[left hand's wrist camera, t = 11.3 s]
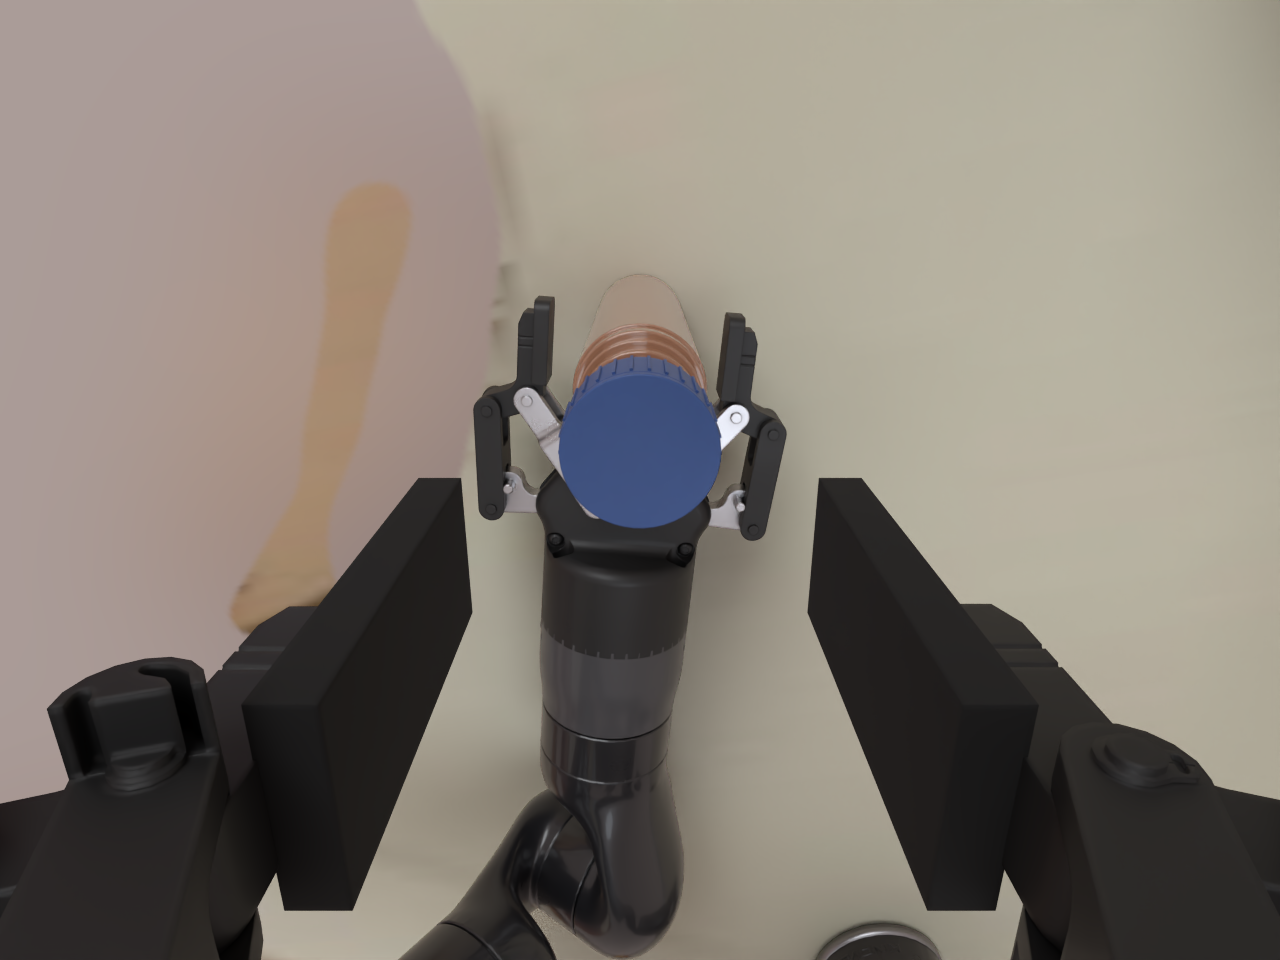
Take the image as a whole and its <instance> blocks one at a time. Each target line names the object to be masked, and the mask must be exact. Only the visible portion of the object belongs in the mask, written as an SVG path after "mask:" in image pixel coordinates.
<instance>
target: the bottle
mask: <svg viewBox="0 0 1280 960" xmlns="http://www.w3.org/2000/svg"><path fill="white" fill-rule="evenodd" d="M631 355H633V357H647V355H649V356H650V358H656V359H660V360H664V359H666V360H667V362H669V363H671V364H673V365H675V366H677V367H679V366H681V367H682V369H683V370H684V371H685V372H686V373H687V374H689V375H690V376H691V377H692V376H694V377H695V379H696V382H697V383H698V385H699V386H700V387H701V389H703V388H704V389H705V391H706V394H707V380H706V375H705V371H704V368H703V365H702V363H701V360H700V357H699V354H698V352H697V349H696V346H695V344H694V341H693V338H692V335H691V333H690V330H689V327H688V324H687V322H686V319H685V316H684V314H683V311H682V308H681V305H680V303H679V300H678V298H677V296H676V294H675V293H674V291H673V290H672V289H671V288H670V287H669V286H668V285H667V284H666V283H665V282H663V281H661V280H660V279H658V278H655V277H652V276H649V275H631V276H627V277H625V278H622V279H620V280H619V281H617V282H616V283H614V284H613V285H612V286H611V287H610V288H609V289H608V290H607V291H606V293H605V294H604V296H603V298H602V300H601V303H600V305H599V308H598V311H597V313H596V316H595V319H594V321H593V324H592V327H591V330H590V332H589V335H588V338H587V340H586V343H585V346H584V349H583V351H582V354H581V357H580V359H579V362H578V365H577V368H576V371H575V375H574V381H573V395H574V392H575V389H576V388H579V387H580V386H581V385H582V383H583V382H584V380H585V377H586V376H587V375H588V376H590V375H591V374H592V373H594V372H595V371H597V370H598V367H599V366H602V367H603V366H605V365H607V364H609V363H611V362H613V361H614V359H617V360H620V359H624V358H630V356H631Z"/></svg>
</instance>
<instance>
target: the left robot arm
mask: <svg viewBox="0 0 1280 960" xmlns="http://www.w3.org/2000/svg"><path fill="white" fill-rule="evenodd" d="M471 615H472V602H471V590H470V578H469V566H468V555H467V543H466V531H465V519H464V507H463V496H462V484H461V478H418V480H417V481H416V482H415V483H414V485H413V486H412V487H411V488H410V490H409V491H408V492H407V494H406V495H405V496H404V497H403V499H402V500H401V501H400V502H399V504H398V505H397V506H396V508H395V509H394V510H393V511H392V513H391V514H390V515H389V517H388V518H387V519H386V520H385V522H384V523H383V524H382V525H381V527H380V528H379V529H378V531H377V532H376V533H375V534H374V536H373V537H372V538H371V539H370V541H369V542H368V543H367V545H366V546H365V547H364V548H363V550H362V551H361V552H360V554H359V555H358V556H357V557H356V559H355V560H354V561H353V563H352V564H351V565H350V566H349V568H348V569H347V570H346V571H345V573H344V574H343V575H342V576H341V578H340V579H339V580H338V582H337V583H336V584H335V585H334V587H333V588H332V589H331V591H330V592H329V593H328V594H327V596H326V597H325V598H324V599H323V601H322V602H321V603H320V605H319V606H318V607H288V608H286V609H284V610H283V611H281V612H279V613H278V614H276V615H274V616H273V617H271V618H269V619H268V620H266V621H264V622H263V623H261V624H260V625H258V626H257V627H256V628H255V630H254V631H253V632H252V633H251V634H250V635H249V636H248V637H247V639H246V640H245V641H244V642H243V643H242V644H241V645H240V647H239V651H238V652H234V653H233V654H232V655H231V657H230V658H229V659H228V660H227V661H226V662H225V663H224V664H223V669H222V670H218V671H217V672H216V673H215V675H214V676H213V677H212V678H211V679H210V680H209V681H208V682H207V683H206V679H205V674H204V670H203V669H202V668H201V667H200V666H198V665H197V664H196V663H194V662H193V661H191V660H185V659H180V658H174V657H163V658H148V659H142V660H137V661H133V662H129V663H125V664H121V665H117V666H114V667H111V668H109V669H106V670H104V671H101V672H99V673H96V674H94V675H91V676H89V677H87V678H85V679H83V680H82V681H80V682H78V683H77V684H75V685H74V686H72V687H70V688H69V689H67V690H66V691H64V692H62V693H61V694H60V696H59V697H58V698H57V699H56V700H55V701H54V702H53V703H52V704H51V705H50V706H49V707H48V708H47V711H48V714H49V718H50V721H51V724H52V727H53V730H54V733H55V737H56V740H57V743H58V746H59V749H60V752H61V755H62V759H63V762H64V765H65V768H66V772H67V775H68V778H69V781H68V783H67V785H66V788H65V789H64V790H62V791H58V792H54V793H49V794H45V795H40V796H35V797H30V798H25V799H21V800H16V801H11V802H6V803H2V804H0V960H261V954H262V947H263V934H262V927H261V921H260V916H259V912H258V908H257V907H258V905H259V903H260V901H261V900H262V898H263V896H264V894H265V892H266V890H267V888H268V887H269V885H270V883H271V881H272V879H273V877H274V875H275V874H276V873H277V878H278V883H279V887H280V892H281V897H282V901H283V906H284V911H353V908H354V906H355V903H356V901H357V898H358V896H359V893H360V891H361V888H362V886H363V883H364V881H365V878H366V876H367V873H368V871H369V868H370V866H371V864H372V861H373V859H374V856H375V854H376V851H377V849H378V846H379V844H380V841H381V839H382V836H383V834H384V831H385V829H386V826H387V824H388V821H389V819H390V816H391V814H392V811H393V809H394V806H395V804H396V801H397V799H398V796H399V794H400V791H401V789H402V786H403V784H404V781H405V779H406V776H407V774H408V771H409V769H410V766H411V764H412V761H413V759H414V757H415V754H416V752H417V749H418V747H419V744H420V742H421V739H422V737H423V734H424V732H425V729H426V727H427V724H428V722H429V719H430V717H431V714H432V712H433V709H434V707H435V704H436V702H437V699H438V697H439V694H440V692H441V689H442V687H443V684H444V682H445V679H446V677H447V674H448V672H449V669H450V667H451V664H452V662H453V659H454V657H455V655H456V652H457V650H458V647H459V645H460V642H461V640H462V637H463V635H464V632H465V630H466V627H467V625H468V622H469V620H470V617H471ZM808 615H809V617H810V620H811V622H812V625H813V627H814V630H815V632H816V635H817V637H818V640H819V642H820V645H821V647H822V650H823V652H824V655H825V657H826V659H827V662H828V664H829V667H830V669H831V672H832V674H833V677H834V679H835V682H836V684H837V687H838V689H839V692H840V694H841V697H842V699H843V702H844V704H845V707H846V709H847V712H848V714H849V717H850V719H851V722H852V724H853V727H854V729H855V732H856V734H857V737H858V739H859V742H860V744H861V747H862V749H863V752H864V754H865V757H866V759H867V761H868V764H869V766H870V769H871V771H872V774H873V776H874V779H875V781H876V784H877V786H878V789H879V791H880V794H881V796H882V799H883V801H884V804H885V806H886V809H887V811H888V814H889V816H890V819H891V821H892V824H893V826H894V829H895V831H896V834H897V836H898V839H899V841H900V844H901V846H902V849H903V851H904V854H905V856H906V859H907V861H908V864H909V866H910V868H911V871H912V873H913V876H914V878H915V881H916V883H917V886H918V888H919V891H920V893H921V896H922V898H923V901H924V903H925V906H926V908H927V911H996V906H997V901H998V897H999V892H1000V887H1001V883H1002V878H1003V873H1004V870H1005V871H1006V873H1007V875H1008V877H1009V879H1010V881H1011V882H1012V884H1013V886H1014V888H1015V890H1016V892H1017V894H1018V895H1019V897H1020V899H1021V901H1022V903H1023V908H1022V912H1021V916H1020V921H1019V925H1018V930H1017V934H1016V939H1015V943H1014V947H1013V952H1012V956H1011V960H1280V800H1277V799H1272V798H1267V797H1262V796H1258V795H1253V794H1248V793H1243V792H1238V791H1234V790H1229V789H1225V788H1221V787H1217V786H1214V784H1213V782H1212V780H1211V778H1210V777H1209V776H1208V775H1207V773H1206V772H1205V771H1204V770H1203V768H1202V767H1201V766H1200V765H1199V763H1198V762H1197V761H1196V760H1195V759H1193V758H1192V757H1190V756H1189V755H1188V754H1186V753H1185V752H1184V751H1182V750H1181V749H1179V748H1178V747H1177V746H1175V745H1174V744H1172V743H1170V742H1167V741H1165V740H1163V739H1161V738H1159V737H1157V736H1155V735H1152V734H1150V733H1148V732H1146V731H1142V730H1138V729H1135V728H1131V727H1128V726H1124V725H1120V724H1112V722H1111V721H1110V720H1109V719H1108V718H1107V717H1106V716H1105V715H1104V713H1103V712H1102V711H1101V710H1100V709H1099V708H1098V707H1097V706H1096V705H1095V703H1094V702H1093V701H1092V700H1091V699H1090V698H1089V697H1088V696H1087V694H1086V693H1085V692H1084V691H1083V690H1082V689H1081V688H1080V687H1079V686H1078V684H1077V683H1076V682H1075V681H1074V680H1073V679H1072V678H1071V677H1070V675H1069V674H1068V673H1067V672H1066V671H1065V670H1064V669H1063V668H1062V667H1058V662H1057V661H1056V660H1055V659H1054V658H1053V656H1052V655H1051V654H1050V653H1049V652H1048V651H1047V650H1046V649H1042V644H1041V643H1040V642H1039V641H1038V640H1037V639H1036V637H1035V636H1034V635H1033V634H1032V633H1031V632H1030V631H1029V630H1028V629H1027V627H1026V626H1025V625H1024V624H1023V623H1022V622H1020V621H1019V620H1017V619H1015V618H1014V617H1012V616H1010V615H1009V614H1007V613H1005V612H1004V611H1002V610H1000V609H999V608H997V607H995V606H994V605H992V604H960V603H959V602H958V601H957V599H956V598H955V597H954V596H953V594H952V593H951V592H950V591H949V589H948V588H947V587H946V585H945V584H944V583H943V582H942V580H941V579H940V578H939V576H938V575H937V574H936V573H935V571H934V570H933V569H932V568H931V566H930V565H929V564H928V562H927V561H926V560H925V559H924V557H923V556H922V555H921V554H920V552H919V551H918V550H917V548H916V547H915V546H914V545H913V543H912V542H911V541H910V539H909V538H908V537H907V536H906V534H905V533H904V532H903V531H902V529H901V528H900V527H899V525H898V524H897V523H896V522H895V520H894V519H893V518H892V516H891V515H890V514H889V513H888V511H887V510H886V509H885V508H884V506H883V505H882V504H881V502H880V501H879V500H878V499H877V497H876V496H875V495H874V494H873V492H872V491H871V490H870V488H869V487H868V486H867V485H866V483H865V482H864V481H863V479H862V478H819V484H818V496H817V507H816V519H815V531H814V543H813V555H812V566H811V578H810V590H809V602H808Z"/></svg>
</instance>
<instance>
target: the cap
mask: <svg viewBox="0 0 1280 960" xmlns="http://www.w3.org/2000/svg"><path fill="white" fill-rule="evenodd" d="M562 421H563V423H562V426H561V429H560V432H559V436H558V437H559V438H560V441H559V450H558V454H559V461H560V468H561V471H562V474H563V477H564V480H565V482H566V484H567V486H568V488H569V489H570V491H571V493H572V494H573V496H574V497H575V498H576V499H577V500H578V502H579V503H580V504H581V505H582V506H583V507H584V508H586V509H587V510H588V511H589V512H591V513H592V514H593V515H595V516H597V517H598V518H600V519H602V520H604V521H606V522H609V523H611V524H614V525H618V526H622V527H628V528H653V527H658V526H662V525H665V524H668V523H671V522H674V521H676V520H678V519H680V518H682V517H683V516H685V515H686V514H688V513H689V512H691V511H692V510H693V509H694V508H695V507H697V506H698V505H699V504H700V503H701V502H702V500H703V499H704V498H705V497H706V495H707V494H708V493H709V491H710V490H711V488H712V486H713V484H714V482H715V480H716V477H717V474H718V471H719V467H720V462H721V455H722V451H721V440H720V438H722V436H721V433H720V430H719V427H718V424H717V421H718V420H717V417H716V414H715V411H714V408H713V406H712V403H709V400H708V397H707V394H706V391H705V389H704V388H703V389H701V387H700V386H699V385H698V383H697V382H696V379H695V377H694V376H692V377H691V376H690V375H689V374H687V373H686V372H685V371H684V370H683V369H682V367H681V366H679V367H677V366H675V365H673V364H671V363H669V362H667V360H666V359H664V360H660V359H656V358H650V356H649V355H647V357H633V355H631V356H630V358H624V359H620V360H617V359H614V361H613V362H611V363H609V364H607V365H605V366H603V367H602V366H599V367H598V370H597V371H595V372H594V373H592V374H591V375H590V376H588V375H587V376H586V377H585V380H584V382H583V383H582V385H581V386H580V387H579V388H576V389H575V392H574V395H573V398H572V401H571V402H569V403H568V405H567V408H566V411H565V414H564V417H563V420H562Z"/></svg>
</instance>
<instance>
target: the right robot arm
mask: <svg viewBox="0 0 1280 960" xmlns="http://www.w3.org/2000/svg"><path fill="white" fill-rule="evenodd" d="M554 311H555V298H554V297H548V296H538V297H537V298H536V299H535V303H534V309H533V308H527V309H526V310H525V311H524V312H523V314H522V317H521V319H520V321H519V323H518V357H517V379H516V381H514V382H513V383H510V384H506V385H503V386H491V387H489V388H488V389H487V390H486V391H485V392H484V393H483V395H482V397H481V398H480V399H479V400H478V401H477V402H476V403H475V405H474V410H473V411H474V430H475V449H476V467H477V486H478V504H479V512H480V514H481V515H482V516H483V517H484V518H486V519H488V520H497V519H499V518H500V517H501V516H502V515H503V513H504V512H524V513H538V515H539V517H540V519H541V521H542V523H543V526H544V529H545V549H544V571H543V593H542V615H541V639H540V670H541V679H542V688H543V700H542V721H541V743H540V762H541V770H542V774H543V777H544V781H545V783H546V785H547V787H548V788H549V789H547V790H545V791H543V792H541V793H540V794H538V795H537V796H536V797H534V798H533V799H532V800H531V801H530V802H529V803H528V804H527V805H526V806H525V807H524V809H523V810H522V811H521V813H520V814H519V816H518V817H517V819H516V820H515V822H514V823H513V825H512V826H511V828H510V830H509V831H508V833H507V835H506V836H505V838H504V839H503V841H502V843H501V844H500V846H499V847H498V849H497V850H496V852H495V853H494V855H493V856H492V858H491V859H490V861H489V862H488V863H487V865H486V866H485V868H484V869H483V870H482V872H481V873H480V875H479V876H478V877H477V879H476V880H475V882H474V883H473V884H472V886H471V887H470V889H469V890H468V891H467V893H466V894H465V896H464V897H463V898H462V900H461V901H460V902H459V903H458V905H457V906H456V907H455V909H454V910H453V911H452V912H451V913H450V914H449V915H448V916H447V917H445V918H444V919H443V920H442V921H441V922H440V923H438V924H437V926H435V927H434V928H433V929H432V930H431V931H430V932H428V933H427V934H426V935H425V936H424V937H423V938H422V939H421V940H420V941H418V942H417V943H416V944H415V945H414V946H413V947H412V948H411V949H409V950H408V951H407V952H406V953H405V954H404V955H403V956H402V957H401V958H399V959H398V960H557V959H556V956H555V954H554V951H553V949H552V947H551V945H550V943H549V941H548V939H547V938H546V936H545V935H544V933H543V932H542V930H541V929H540V927H539V926H538V924H537V923H536V922H535V920H534V919H533V918H532V916H531V915H530V913H531V912H532V911H534V910H535V909H537V908H539V909H540V910H542V911H543V912H544V913H546V914H547V915H548V916H550V917H551V918H552V919H554V920H555V921H557V922H558V923H559V924H561V925H562V926H563V927H565V928H566V929H567V930H569V931H570V932H572V933H573V934H574V935H576V936H577V937H578V938H579V939H580V940H582V941H583V942H584V943H586V944H587V945H588V946H590V947H591V948H593V949H594V950H595V951H597V952H599V953H600V954H603V955H605V956H607V957H609V958H613V959H618V960H625V959H632V958H635V957H638V956H641V955H643V954H645V953H646V952H648V951H649V950H650V949H652V948H653V947H654V946H656V945H657V944H658V943H659V942H660V940H661V939H662V938H663V937H664V935H665V934H666V933H667V931H668V929H669V928H670V926H671V924H672V922H673V920H674V918H675V915H676V912H677V910H678V906H679V903H680V899H681V894H682V888H683V880H684V854H683V846H682V839H681V833H680V828H679V823H678V818H677V813H676V808H675V803H674V798H673V793H672V786H671V782H670V777H669V774H668V769H667V764H666V757H667V751H668V743H669V734H670V725H671V717H672V707H673V702H674V697H675V694H676V690H677V687H678V684H679V680H680V676H681V670H682V664H683V656H684V648H685V639H686V630H687V623H688V614H689V606H690V598H691V589H692V581H693V572H694V564H695V556H696V547H697V543H698V540H699V538H700V536H701V534H702V533H703V532H704V530H705V529H706V528H707V526H713V527H720V528H728V529H735V530H740V531H741V534H742V536H743V537H744V538H745V539H747V540H750V541H755V540H758V539H760V538H762V537H763V535H764V534H765V531H766V527H767V522H768V518H769V513H770V509H771V504H772V499H773V495H774V490H775V486H776V481H777V477H778V472H779V467H780V463H781V458H782V454H783V449H784V445H785V440H786V435H787V434H786V429H785V427H784V426H783V424H782V422H781V421H780V419H779V418H778V416H777V414H776V413H775V412H774V411H773V410H771V409H768V408H763V407H761V406H758V405H756V404H754V403H753V402H752V401H751V389H752V382H753V374H754V366H755V360H756V352H757V345H758V344H757V340H756V336H755V332H754V331H753V330H752V329H751V328H750V327H745V317H744V316H743V315H742V314H740V313H728V312H726V315H725V320H724V328H723V336H722V345H721V353H720V361H719V370H718V378H717V387H716V390H717V393H718V395H719V399H718V400H717V401H716V402H715V403H714V404H713V408H714V411H715V414H716V417H717V420H718V421H717V424H718V427H719V430H720V433H721V436H722V438H720V440H721V451H722V450H723V449H724V448H725V447H726V446H727V445H728V444H729V443H730V442H731V441H732V440H733V439H734V438H735V437H736V436H737V435H738V434H739V433H740V432H743V433H745V434H747V435H749V436H750V437H749V442H748V447H747V452H746V457H745V462H744V467H743V472H742V477H741V482H740V484H733V485H731V486H729V487H728V488H727V489H726V491H725V493H724V496H723V497H722V498H721V499H720V500H718V501H716V502H709V499H708V497H707V495H706V497H705V498H704V499H703V500H702V502H701V503H700V504H699V505H698V506H697V507H695V508H694V509H693V510H692V511H691V512H689V513H688V514H686V515H685V516H683V517H682V518H680V519H678V520H676V521H674V522H671V523H668V524H665V525H662V526H658V527H653V528H628V527H622V526H618V525H614V524H611V523H609V522H606V521H604V520H602V519H600V518H598V517H597V516H595V515H593V514H592V513H591V512H589V511H588V510H587V509H586V508H584V507H583V506H582V505H581V504H580V503H579V502H578V500H577V499H576V498H575V497H574V496H573V494H572V493H571V491H570V489H569V488H568V486H567V484H566V482H565V480H564V477H563V474H562V471H561V468H560V461H559V454H558V450H559V441H560V438H559V437H558V436H559V432H560V429H561V426H562V423H563V421H562V420H563V417H564V414H565V410H564V409H563V408H562V407H561V405H560V404H559V402H558V401H557V400H556V398H555V397H554V395H553V394H552V392H551V391H550V389H549V388H548V387H547V384H548V382H549V380H550V377H551V375H552V356H553V333H554ZM516 414H521V415H522V417H523V418H524V420H525V421H526V422H527V424H528V425H529V427H530V428H531V429H532V431H533V432H534V434H535V435H536V437H537V439H538V442H539V445H540V447H541V448H542V450H543V451H544V453H545V454H546V456H547V457H548V458H549V460H550V461H551V463H552V464H553V465H554V467H555V469H554V470H553V472H552V473H551V474H550V475H549V476H548V477H547V478H546V480H545V481H544V482H543V483H542V485H541V486H540V489H536V488H533V487H531V486H530V485H529V484H528V483H527V481H526V478H525V474H524V472H523V471H522V470H521V469H520V468H518V467H515V466H511V449H510V422H509V416H512V415H516ZM816 960H941V957H940V955H939V952H938V950H937V948H936V947H935V945H934V944H933V943H932V942H931V941H930V940H929V939H928V938H927V937H926V936H924V935H923V934H921V933H920V932H918V931H916V930H913V929H911V928H908V927H905V926H901V925H895V924H872V925H866V926H861V927H858V928H855V929H852V930H849V931H847V932H845V933H843V934H841V935H839V936H837V937H836V938H835V939H833V940H832V941H831V942H829V943H828V944H827V945H826V946H825V947H824V948H823V949H822V951H821V952H820V953H819V955H818V957H817V958H816Z"/></svg>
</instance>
